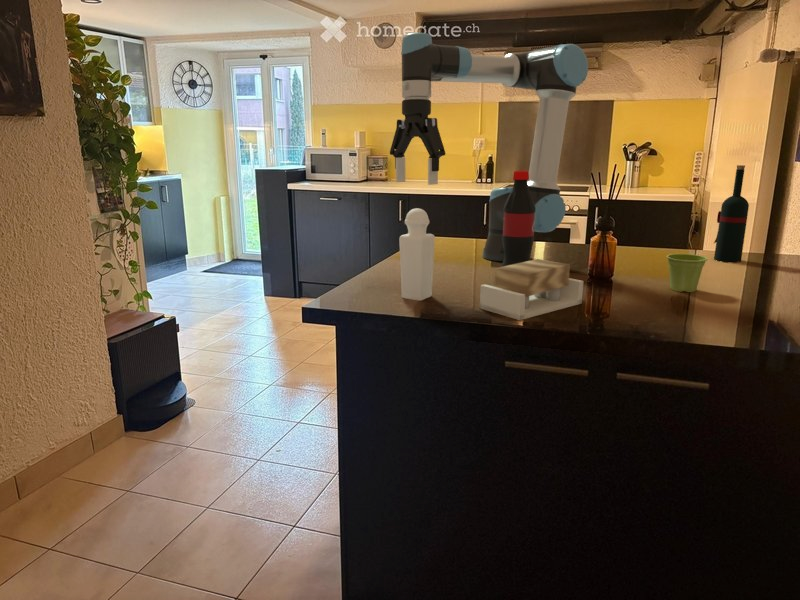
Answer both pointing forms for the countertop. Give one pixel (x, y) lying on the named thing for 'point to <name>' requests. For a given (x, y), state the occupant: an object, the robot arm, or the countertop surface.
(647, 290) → the countertop surface
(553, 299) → the cradle
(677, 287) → the plant pot
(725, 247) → the wine bottle
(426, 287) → the white square bottle
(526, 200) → the cola bottle
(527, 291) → the wooden block
